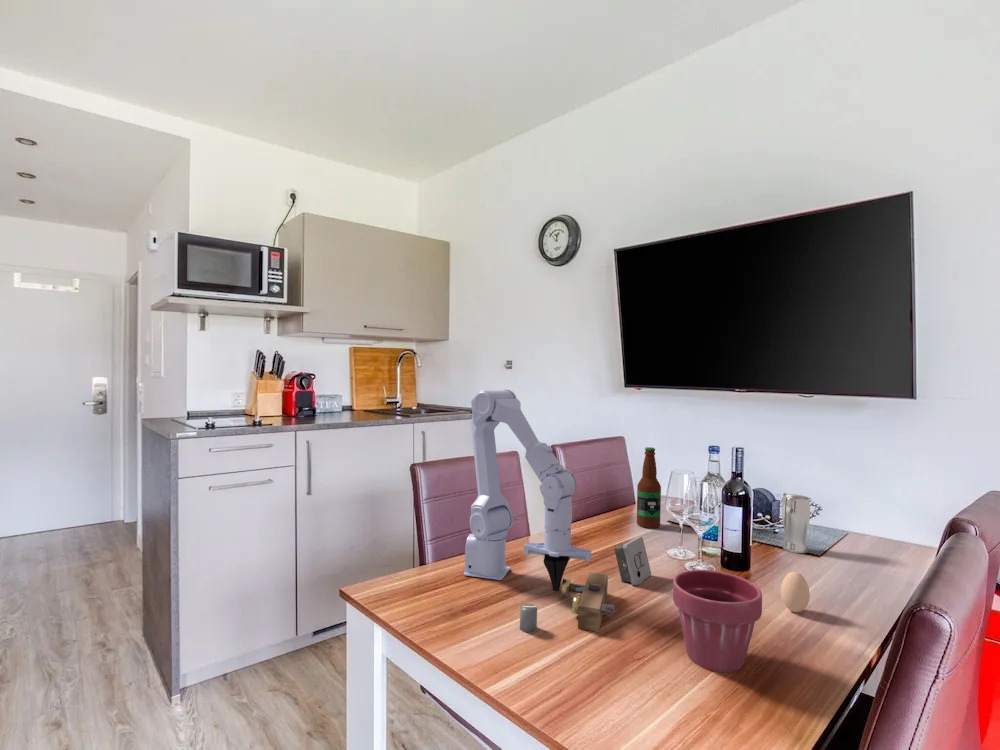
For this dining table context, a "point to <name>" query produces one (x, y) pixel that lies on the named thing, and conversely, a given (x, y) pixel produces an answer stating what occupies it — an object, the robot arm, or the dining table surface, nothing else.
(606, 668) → the dining table surface
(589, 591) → the wooden board with knobs
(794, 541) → the beer glass
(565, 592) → the far plunger
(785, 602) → the egg
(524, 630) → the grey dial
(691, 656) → the plant pot
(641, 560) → the electrical switch
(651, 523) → the bottle
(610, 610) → the near plunger
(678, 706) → the dining table surface
